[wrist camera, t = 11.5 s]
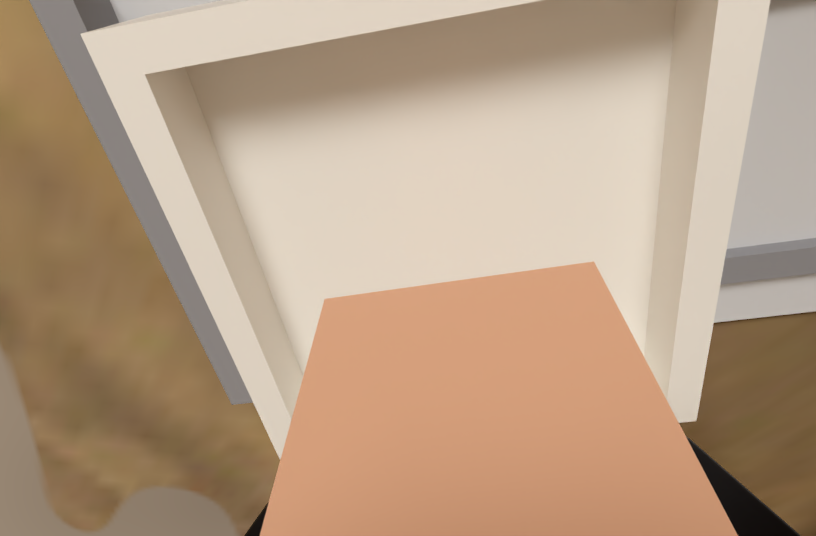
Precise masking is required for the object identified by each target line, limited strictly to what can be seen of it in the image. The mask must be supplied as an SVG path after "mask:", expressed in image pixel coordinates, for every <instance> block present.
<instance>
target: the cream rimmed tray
mask: <svg viewBox="0 0 816 536" xmlns="http://www.w3.org/2000/svg"><path fill="white" fill-rule="evenodd" d="M769 6H770V0H220V1H215V2H210V3H205V4H200V5H195V6H190V7H185V8H180V9H176V10H171V11H166V12H161V13H156V14H151V15H146V16H143V17H139V18H136V19H132V20H128V21H125V22H121V23H118V24H114V25H110V26H107V27H103V28H99V29H96V30H92V31H89V32H85V33H81V34H80V35H81V37H82V39H83V41H84V43H85V45H86V47H87V50H88V52H89V54H90V56H91V58H92V60H93V62H94V64H95V67H96V69H97V71H98V73H99V75H100V77H101V79H102V81H103V84H104V86H105V88H106V90H107V92H108V94H109V96H110V99H111V101H112V103H113V105H114V107H115V109H116V111H117V113H118V116H119V118H120V120H121V122H122V124H123V126H124V128H125V130H126V133H127V135H128V137H129V139H130V141H131V143H132V145H133V148H134V150H135V152H136V154H137V156H138V158H139V160H140V162H141V165H142V167H143V169H144V171H145V173H146V175H147V177H148V179H149V182H150V184H151V186H152V188H153V190H154V192H155V194H156V197H157V199H158V201H159V203H160V205H161V207H162V209H163V211H164V214H165V216H166V218H167V220H168V222H169V224H170V226H171V228H172V231H173V233H174V235H175V237H176V239H177V241H178V243H179V246H180V248H181V250H182V252H183V254H184V256H185V258H186V260H187V263H188V265H189V267H190V269H191V271H192V273H193V275H194V277H195V280H196V282H197V284H198V286H199V288H200V290H201V292H202V295H203V297H204V299H205V301H206V303H207V305H208V307H209V309H210V312H211V314H212V316H213V318H214V320H215V322H216V324H217V326H218V329H219V331H220V333H221V335H222V337H223V339H224V341H225V344H226V346H227V348H228V350H229V352H230V354H231V356H232V358H233V361H234V363H235V365H236V367H237V369H238V371H239V373H240V375H241V378H242V380H243V382H244V384H245V386H246V388H247V390H248V393H249V395H250V397H251V399H252V401H253V403H254V405H255V407H256V410H257V412H258V414H259V416H260V418H261V420H262V422H263V424H264V427H265V429H266V431H267V433H268V435H269V437H270V439H271V442H272V444H273V446H274V448H275V450H276V452H277V454H278V456H279V459H281V456H282V452H283V449H284V445H285V441H286V438H287V434H288V430H289V427H290V423H291V420H292V416H293V412H294V409H295V405H296V401H297V398H298V394H299V390H300V387H301V383H302V379H303V376H304V372H305V369H306V365H307V361H308V358H309V354H310V350H311V347H312V343H313V339H314V336H315V332H316V329H317V325H318V321H319V318H320V314H321V310H322V307H323V303H324V299H327V298H335V297H342V296H349V295H356V294H363V293H371V292H378V291H385V290H392V289H399V288H407V287H414V286H421V285H428V284H435V283H442V282H450V281H457V280H464V279H471V278H478V277H486V276H493V275H500V274H507V273H514V272H522V271H529V270H536V269H543V268H550V267H557V266H565V265H572V264H579V263H586V262H593V261H594V263H595V264H596V266H597V268H598V270H599V272H600V274H601V276H602V278H603V280H604V282H605V284H606V285H607V287H608V289H609V291H610V293H611V295H612V297H613V299H614V301H615V303H616V304H617V306H618V308H619V310H620V312H621V314H622V316H623V318H624V320H625V322H626V323H627V325H628V327H629V329H630V331H631V333H632V335H633V337H634V339H635V341H636V343H637V344H638V346H639V348H640V350H641V352H642V354H643V356H644V358H645V360H646V362H647V363H648V365H649V367H650V369H651V371H652V373H653V375H654V377H655V379H656V381H657V383H658V384H659V386H660V388H661V390H662V392H663V394H664V396H665V398H666V400H667V402H668V403H669V405H670V407H671V409H672V411H673V413H674V415H675V417H676V419H677V421H678V422H679V423H680V422H691V421H696V420H697V414H698V408H699V403H700V397H701V391H702V386H703V380H704V374H705V369H706V363H707V357H708V352H709V346H710V340H711V335H712V329H713V323H714V318H715V312H716V306H717V301H718V295H719V289H720V284H721V278H722V272H723V267H724V261H725V255H726V250H727V244H728V238H729V233H730V227H731V221H732V216H733V210H734V204H735V199H736V193H737V187H738V182H739V176H740V170H741V165H742V159H743V153H744V148H745V142H746V136H747V131H748V125H749V119H750V114H751V108H752V102H753V97H754V91H755V85H756V80H757V74H758V68H759V63H760V57H761V51H762V46H763V40H764V34H765V29H766V23H767V17H768V12H769Z"/></svg>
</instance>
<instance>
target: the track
mask: <svg viewBox="0 0 816 536" xmlns="http://www.w3.org/2000/svg"><path fill="white" fill-rule="evenodd" d="M29 1H30V3H31V5H32V7H33V9H34V11H35V13H36V15H37V17H38V19H39V21H40V23H41V25H42V27H43V29H44V31H45V33H46V35H47V37H48V39H49V41H50V43H51V45H52V47H53V49H54V51H55V53H56V55H57V57H58V59H59V61H60V63H61V65H62V67H63V69H64V71H65V73H66V75H67V77H68V79H69V81H70V83H71V85H72V87H73V89H74V91H75V93H76V95H77V97H78V99H79V101H80V103H81V105H82V107H83V109H84V111H85V113H86V115H87V117H88V119H89V121H90V122H91V124H92V126H93V128H94V130H95V132H96V134H97V136H98V138H99V140H100V142H101V144H102V146H103V148H104V150H105V152H106V154H107V156H108V158H109V160H110V162H111V164H112V166H113V168H114V170H115V172H116V174H117V176H118V178H119V180H120V182H121V184H122V186H123V188H124V190H125V192H126V194H127V196H128V198H129V200H130V202H131V204H132V206H133V208H134V210H135V212H136V214H137V216H138V218H139V220H140V222H141V224H142V226H143V228H144V230H145V232H146V234H147V236H148V238H149V240H150V242H151V244H152V246H153V248H154V250H155V252H156V254H157V256H158V258H159V260H160V262H161V264H162V266H163V268H164V270H165V272H166V274H167V276H168V278H169V280H170V282H171V284H172V286H173V288H174V290H175V292H176V294H177V296H178V298H179V300H180V302H181V304H182V306H183V308H184V310H185V312H186V314H187V316H188V318H189V320H190V322H191V324H192V326H193V328H194V330H195V332H196V334H197V336H198V338H199V340H200V342H201V344H202V346H203V348H204V350H205V352H206V354H207V356H208V358H209V360H210V362H211V364H212V366H213V368H214V370H215V372H216V374H217V376H218V378H219V380H220V382H221V384H222V386H223V388H224V390H225V392H226V394H227V396H228V398H229V400H230V402H231V404H232V405H233V404H243V403H252V402H253V401H252V399H251V397H250V395H249V393H248V390H247V388H246V386H245V384H244V382H243V380H242V378H241V375H240V373H239V371H238V369H237V367H236V365H235V363H234V361H233V358H232V356H231V354H230V352H229V350H228V348H227V346H226V344H225V341H224V339H223V337H222V335H221V333H220V331H219V329H218V326H217V324H216V322H215V320H214V318H213V316H212V314H211V312H210V309H209V307H208V305H207V303H206V301H205V299H204V297H203V295H202V292H201V290H200V288H199V286H198V284H197V282H196V280H195V277H194V275H193V273H192V271H191V269H190V267H189V265H188V263H187V260H186V258H185V256H184V254H183V252H182V250H181V248H180V246H179V243H178V241H177V239H176V237H175V235H174V233H173V231H172V228H171V226H170V224H169V222H168V220H167V218H166V216H165V214H164V211H163V209H162V207H161V205H160V203H159V201H158V199H157V197H156V194H155V192H154V190H153V188H152V186H151V184H150V182H149V179H148V177H147V175H146V173H145V171H144V169H143V167H142V165H141V162H140V160H139V158H138V156H137V154H136V152H135V150H134V148H133V145H132V143H131V141H130V139H129V137H128V135H127V133H126V130H125V128H124V126H123V124H122V122H121V120H120V118H119V116H118V113H117V111H116V109H115V107H114V105H113V103H112V101H111V99H110V96H109V94H108V92H107V90H106V88H105V86H104V84H103V81H102V79H101V77H100V75H99V73H98V71H97V69H96V67H95V64H94V62H93V60H92V58H91V56H90V54H89V52H88V50H87V47H86V45H85V43H84V41H83V39H82V37H81V35H80V34H81V33H85V32H89V31H92V30H96V29H99V28H103V27H107V26H110V25H114V24H118V23H121V22H125V21H128V20H132V19H136V18H139V17H143V16H146V15H151V14H156V13H161V12H166V11H171V10H176V9H180V8H185V7H190V6H195V5H200V4H205V3H210V2H215V1H220V0H29ZM814 311H816V0H770V6H769V12H768V17H767V23H766V29H765V34H764V40H763V46H762V51H761V57H760V63H759V68H758V74H757V80H756V85H755V91H754V97H753V102H752V108H751V114H750V119H749V125H748V131H747V136H746V142H745V148H744V153H743V159H742V165H741V170H740V176H739V182H738V187H737V193H736V199H735V204H734V210H733V216H732V221H731V227H730V233H729V238H728V244H727V250H726V255H725V261H724V267H723V272H722V278H721V284H720V289H719V295H718V301H717V306H716V312H715V318H714V323H716V322H725V321H734V320H742V319H751V318H760V317H769V316H778V315H787V314H796V313H805V312H814Z"/></svg>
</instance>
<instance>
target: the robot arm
mask: <svg viewBox="0 0 816 536" xmlns="http://www.w3.org/2000/svg"><path fill="white" fill-rule="evenodd" d="M685 436H686V435H685ZM686 438H687V440H688V442H689V443H690V445H691V447H692V449H693V451H694V453H695V455H696V457H697V459H698V461H699V462H700V464H701V466H702V468H703V470H704V472H705V474H706V476H707V478H708V480H709V481H710V483H711V485H712V487H713V489H714V491H715V493H716V495H717V497H718V499H719V501H720V502H721V504H722V506H723V508H724V510H725V512H726V514H727V516H728V518H729V520H730V521H731V523H732V525H733V527H734V529H735V531H736V533H737V535H738V536H800V535H799V534H798V533H797V532H796V531H795V530H794V529H792V528H791V527H790V526H789V525H788V524H787V523H786V522H784V521H783V520H782V519H781V518H780V517H779V516H777V515H776V514H775V513H774V512H773V511H772V510H771V509H769V508H768V507H767V506H766V505H765V504H764V503H763V502H761V501H760V500H759V499H758V498H757V497H756V496H755V495H753V494H752V493H751V492H750V491H749V490H748V489H746V488H745V487H744V486H743V485H742V484H741V483H740V482H738V481H737V480H736V479H735V478H734V477H733V476H732V475H730V474H729V473H728V472H727V471H726V470H725V469H723V468H722V467H721V466H720V465H719V464H718V463H717V462H715V461H714V460H713V459H712V458H711V457H710V456H709V455H707V454H706V453H705V452H704V451H703V450H702V449H701V448H699V447H698V446H697V445H696V444H695V443H694V442H692V441H691V440H690V439H689V438H688V437H687V436H686ZM268 503H269V502H268ZM268 503H267V505H266V506H265V508H264V509H263V510H262V512H261V513H260V515H259V516H258V517H257V519H256V520H255V522H254V523H253V524H252V526H251V527H250V529H249V530H248V531H247V533H246V534H245V536H260V532H261V529H262V525H263V522H264V518H265V514H266V511H267V507H268Z"/></svg>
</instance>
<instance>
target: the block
mask: <svg viewBox="0 0 816 536" xmlns="http://www.w3.org/2000/svg"><path fill="white" fill-rule="evenodd" d="M260 536H738V535H737V533H736V531H735V529H734V527H733V525H732V523H731V521H730V520H729V518H728V516H727V514H726V512H725V510H724V508H723V506H722V504H721V502H720V501H719V499H718V497H717V495H716V493H715V491H714V489H713V487H712V485H711V483H710V481H709V480H708V478H707V476H706V474H705V472H704V470H703V468H702V466H701V464H700V462H699V461H698V459H697V457H696V455H695V453H694V451H693V449H692V447H691V445H690V443H689V442H688V440H687V438H686V436H685V434H684V432H683V430H682V428H681V426H680V424H679V422H678V421H677V419H676V417H675V415H674V413H673V411H672V409H671V407H670V405H669V403H668V402H667V400H666V398H665V396H664V394H663V392H662V390H661V388H660V386H659V384H658V383H657V381H656V379H655V377H654V375H653V373H652V371H651V369H650V367H649V365H648V363H647V362H646V360H645V358H644V356H643V354H642V352H641V350H640V348H639V346H638V344H637V343H636V341H635V339H634V337H633V335H632V333H631V331H630V329H629V327H628V325H627V323H626V322H625V320H624V318H623V316H622V314H621V312H620V310H619V308H618V306H617V304H616V303H615V301H614V299H613V297H612V295H611V293H610V291H609V289H608V287H607V285H606V284H605V282H604V280H603V278H602V276H601V274H600V272H599V270H598V268H597V266H596V264H595V263H594V261H593V262H586V263H579V264H572V265H565V266H557V267H550V268H543V269H536V270H529V271H522V272H514V273H507V274H500V275H493V276H486V277H478V278H471V279H464V280H457V281H450V282H442V283H435V284H428V285H421V286H414V287H407V288H399V289H392V290H385V291H378V292H371V293H363V294H356V295H349V296H342V297H335V298H327V299H324V303H323V307H322V310H321V314H320V318H319V321H318V325H317V329H316V332H315V336H314V339H313V343H312V347H311V350H310V354H309V358H308V361H307V365H306V369H305V372H304V376H303V379H302V383H301V387H300V390H299V394H298V398H297V401H296V405H295V409H294V412H293V416H292V420H291V423H290V427H289V430H288V434H287V438H286V441H285V445H284V449H283V452H282V456H281V460H280V463H279V467H278V471H277V474H276V478H275V481H274V485H273V489H272V492H271V496H270V500H269V503H268V507H267V511H266V514H265V518H264V522H263V525H262V529H261V532H260Z"/></svg>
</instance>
